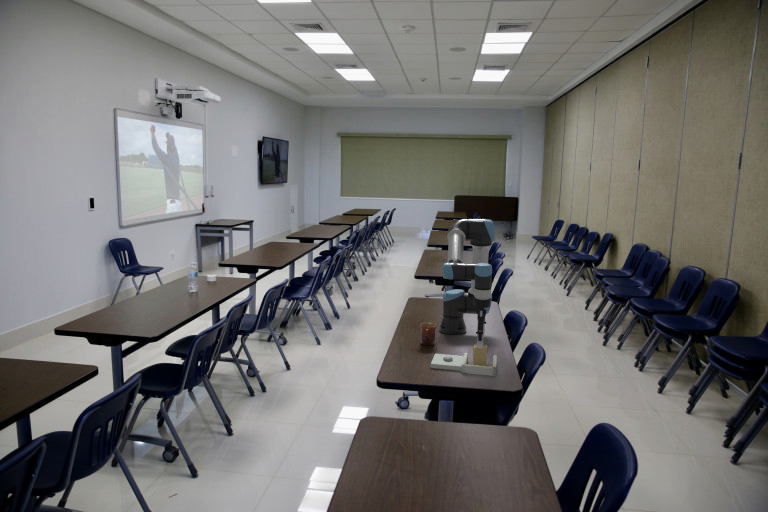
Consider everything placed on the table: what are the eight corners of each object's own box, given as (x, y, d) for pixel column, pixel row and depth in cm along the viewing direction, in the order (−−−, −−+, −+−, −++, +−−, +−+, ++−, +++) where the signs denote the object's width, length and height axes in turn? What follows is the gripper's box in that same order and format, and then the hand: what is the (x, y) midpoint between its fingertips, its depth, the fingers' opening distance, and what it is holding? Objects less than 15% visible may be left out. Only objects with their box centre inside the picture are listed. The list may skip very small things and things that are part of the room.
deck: (435, 356, 243) (435, 350, 242) (496, 362, 236) (496, 355, 236) (429, 369, 227) (430, 362, 226) (495, 376, 220) (496, 368, 219)
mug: (420, 340, 268) (420, 321, 266) (437, 341, 266) (437, 322, 264) (417, 347, 256) (417, 328, 255) (434, 349, 254) (435, 329, 253)
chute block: (473, 362, 235) (474, 344, 234) (486, 364, 234) (487, 345, 233) (472, 366, 231) (473, 347, 229) (486, 367, 229) (486, 349, 228)
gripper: (475, 290, 240) (474, 333, 244) (471, 304, 216) (470, 351, 220) (491, 291, 239) (489, 334, 242) (489, 305, 215) (487, 352, 218)
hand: (480, 342), depth 231 cm, fingers open, 13 cm apart
